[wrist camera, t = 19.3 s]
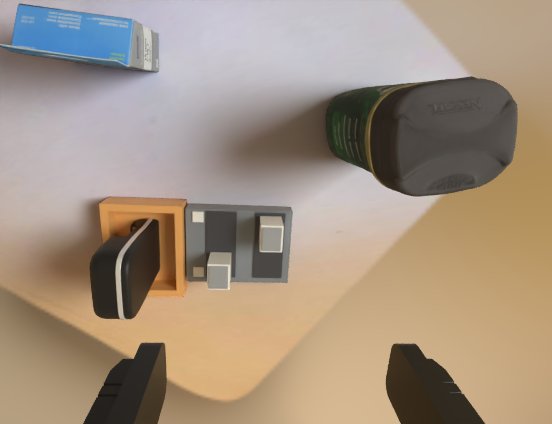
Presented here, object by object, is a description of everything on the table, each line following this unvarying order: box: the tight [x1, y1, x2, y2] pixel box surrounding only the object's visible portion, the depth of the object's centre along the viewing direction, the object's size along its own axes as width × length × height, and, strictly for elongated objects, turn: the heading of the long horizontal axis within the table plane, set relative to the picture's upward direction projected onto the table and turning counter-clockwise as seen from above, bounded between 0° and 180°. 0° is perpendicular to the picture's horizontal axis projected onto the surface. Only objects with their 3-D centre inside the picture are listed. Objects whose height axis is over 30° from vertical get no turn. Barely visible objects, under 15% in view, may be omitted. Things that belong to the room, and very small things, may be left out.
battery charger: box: [90, 218, 160, 320], centre depth 36 cm, size 7×4×11 cm, turn 176°
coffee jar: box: [326, 76, 517, 196], centre depth 31 cm, size 10×8×19 cm
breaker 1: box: [207, 252, 231, 290], centre depth 40 cm, size 2×3×3 cm
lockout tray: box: [99, 197, 188, 297], centre depth 41 cm, size 9×11×3 cm
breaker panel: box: [185, 203, 293, 283], centre depth 42 cm, size 12×9×2 cm
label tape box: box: [0, 4, 159, 72], centre depth 30 cm, size 9×4×12 cm, turn 83°
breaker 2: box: [259, 216, 284, 252], centre depth 39 cm, size 2×3×3 cm
